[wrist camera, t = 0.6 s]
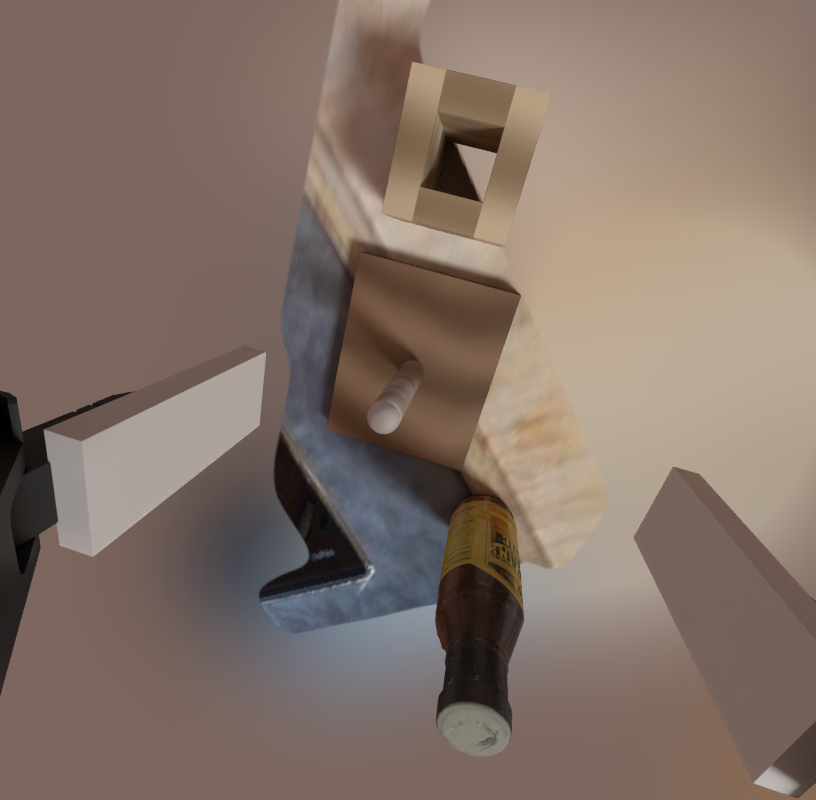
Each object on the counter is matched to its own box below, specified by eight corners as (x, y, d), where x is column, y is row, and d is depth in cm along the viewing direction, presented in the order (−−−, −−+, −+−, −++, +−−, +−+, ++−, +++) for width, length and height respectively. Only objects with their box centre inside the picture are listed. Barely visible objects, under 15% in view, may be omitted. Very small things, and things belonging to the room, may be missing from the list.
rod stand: (365, 252, 34) (293, 252, 21) (519, 293, 33) (539, 319, 20) (331, 423, 40) (260, 501, 27) (461, 463, 39) (450, 563, 26)
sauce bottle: (523, 537, 40) (554, 778, 22) (462, 549, 42) (443, 782, 24) (502, 480, 39) (517, 688, 20) (440, 496, 40) (401, 700, 22)
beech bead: (428, 103, 30) (412, 61, 23) (537, 129, 29) (552, 93, 23) (402, 221, 33) (381, 213, 26) (501, 246, 32) (504, 245, 25)
